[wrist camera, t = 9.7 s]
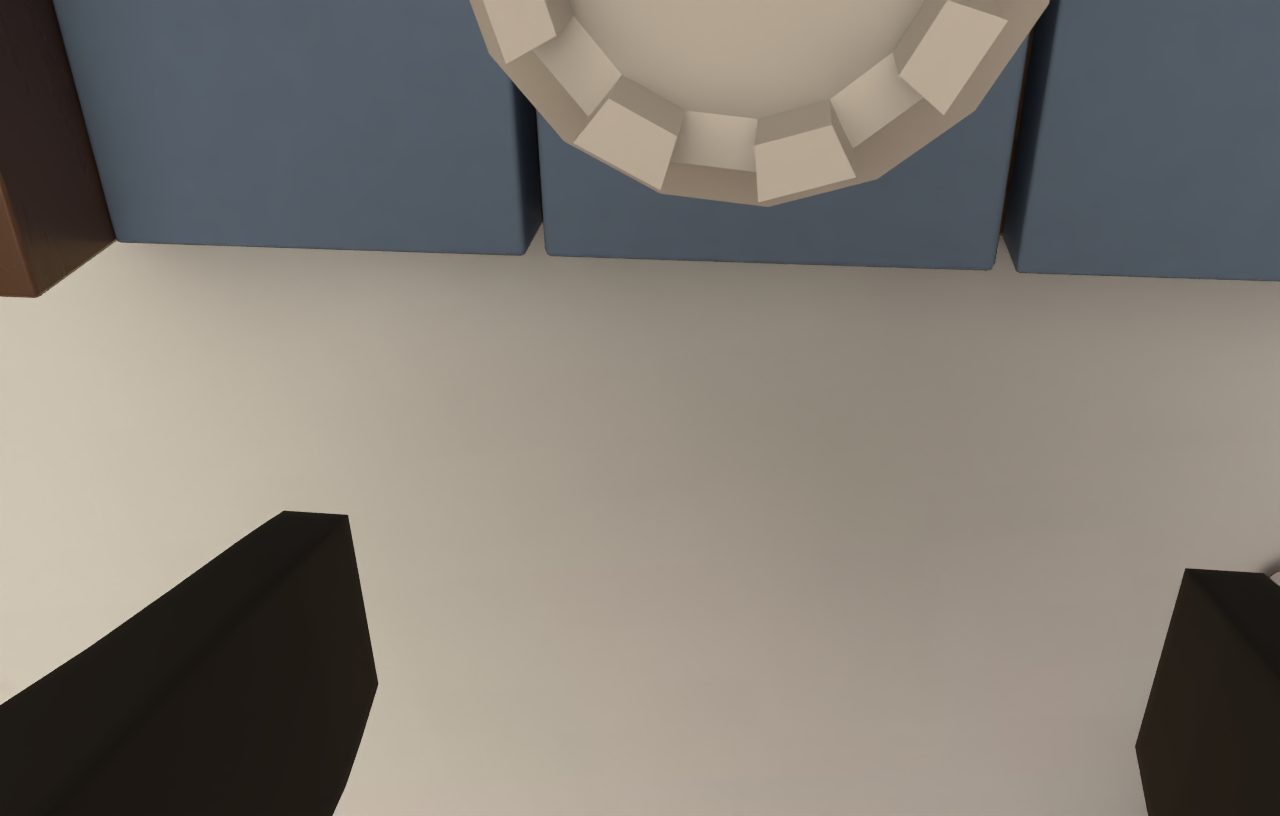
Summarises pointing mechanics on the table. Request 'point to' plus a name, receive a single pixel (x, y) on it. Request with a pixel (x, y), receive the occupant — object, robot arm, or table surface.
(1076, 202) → the wooden desk tray
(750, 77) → the rook chess piece
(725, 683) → the table surface
